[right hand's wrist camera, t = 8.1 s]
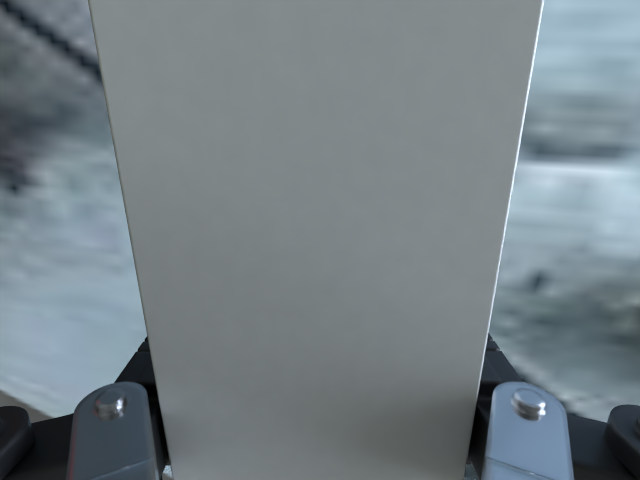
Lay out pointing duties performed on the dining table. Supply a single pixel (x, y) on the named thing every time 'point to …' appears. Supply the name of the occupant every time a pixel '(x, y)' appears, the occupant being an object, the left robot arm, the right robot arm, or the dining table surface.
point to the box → (317, 222)
